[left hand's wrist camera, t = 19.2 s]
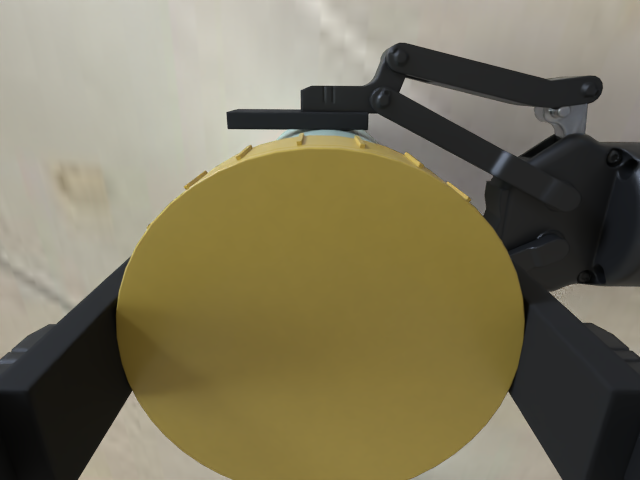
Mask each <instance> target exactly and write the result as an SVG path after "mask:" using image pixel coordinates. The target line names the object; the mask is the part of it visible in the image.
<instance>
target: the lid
mask: <svg viewBox="0 0 640 480" xmlns="http://www.w3.org/2000/svg"><path fill="white" fill-rule="evenodd" d="M184 188H185V189H186V191H185V192H183V193H182V194H181V195H180V196H178V197H177V198H176V199H175V200H173V201H172V202H171V203H170V204H169V205H168V206H167V207H166V208H165V209H164V210H163V211H162V212H161V213H160V214H159V215H158V217H157V218H156V219H155V220H154V221H153V222H152V223H150V224H149V225H148V226H147V230H146V232H145V233H144V235H143V236H142V238H141V239H140V241H139V242H138V244H137V245H136V247H135V249H134V251H133V254H132V256H131V258H130V260H129V262H128V264H127V266H126V269H125V272H124V276H123V279H122V282H121V286H120V289H119V295H118V303H117V311H116V332H117V342H118V347H119V352H120V357H121V362H122V365H123V368H124V371H125V374H126V377H127V380H128V383H129V385H130V386H131V388H132V390H133V392H134V394H135V396H136V398H137V400H138V402H139V403H140V405H141V406H142V408H143V409H144V411H145V412H146V414H147V415H148V416H149V418H150V419H151V421H152V422H153V423H154V424H155V425H156V426H157V427H158V428H159V430H160V431H161V432H162V433H163V434H164V435H165V436H166V437H167V438H168V439H169V440H170V441H172V442H173V443H174V444H175V445H176V446H177V447H178V448H179V449H181V450H182V451H183V452H184V453H186V454H187V455H189V456H190V457H192V458H193V459H195V460H196V461H197V462H199V463H200V464H202V465H204V466H206V467H208V468H209V469H211V470H213V471H215V472H217V473H219V474H220V475H223V476H225V477H228V478H230V479H232V480H408V479H411V478H414V477H416V476H418V475H420V474H422V473H424V472H426V471H428V470H430V469H432V468H434V467H436V466H437V465H439V464H440V463H442V462H443V461H445V460H446V459H448V458H449V457H451V456H452V455H454V454H455V453H456V452H458V451H459V450H460V449H461V448H462V447H464V446H465V445H466V444H467V443H468V442H470V441H471V440H472V439H473V438H474V437H475V436H476V435H477V434H478V433H479V432H480V430H481V429H482V428H483V427H484V426H485V425H486V424H487V423H488V421H489V420H490V419H491V417H492V416H493V415H494V413H495V412H496V411H497V409H498V408H499V407H500V405H501V403H502V401H503V399H504V398H505V396H506V394H507V392H508V390H509V389H510V387H511V384H512V382H513V379H514V376H515V374H516V371H517V368H518V364H519V359H520V354H521V350H522V345H523V339H524V328H525V315H524V304H523V295H522V291H521V287H520V283H519V279H518V275H517V272H516V270H515V267H514V265H513V263H512V261H511V258H510V256H509V254H508V251H507V249H506V248H505V246H504V244H503V242H502V240H501V239H500V238H499V237H498V235H497V233H496V232H495V230H494V229H493V227H492V226H491V225H490V224H489V223H488V222H487V220H486V219H485V218H484V217H483V216H482V215H481V213H480V212H479V211H478V210H477V209H476V208H475V207H474V206H473V205H472V204H471V203H469V202H470V201H471V199H470V198H469V197H468V196H467V195H465V194H464V193H463V192H461V191H460V190H459V189H457V188H456V187H455V186H453V185H452V184H451V183H449V182H447V183H445V182H444V181H443V180H441V179H440V178H439V177H438V176H436V175H435V174H434V173H433V172H431V171H430V170H429V169H427V168H425V167H424V165H423V164H422V163H421V162H419V161H418V160H417V159H415V158H414V157H413V156H412V155H410V154H409V153H407V152H406V153H405V155H403V154H401V153H399V152H397V151H394V150H392V149H390V148H388V147H385V146H382V145H379V144H375V143H372V142H368V141H365V140H362V139H361V138H360V137H359V136H357V135H355V137H354V138H348V137H342V136H326V135H308V136H304V133H300V135H299V137H292V138H284V139H280V140H276V141H273V142H269V143H265V144H261V145H258V146H256V147H254V148H252V146H251V145H249V146H247V147H246V148H245V149H244V150H243V151H241V152H240V153H239V154H237V155H235V156H233V157H232V158H230V159H228V160H227V161H225V162H223V163H221V164H220V165H218V166H216V167H215V168H214V169H212V170H211V171H210V172H209V173H207V171H204V172H203V173H201V174H200V175H199V176H197V177H196V178H195V179H193V180H192V181H191V182H189V183H188V184H187V185H185V186H184Z"/></svg>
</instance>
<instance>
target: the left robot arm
mask: <svg viewBox="0 0 640 480" xmlns="http://www.w3.org/2000/svg"><path fill="white" fill-rule="evenodd" d="M130 258H131V257H130ZM130 258H129V259H127V260H126V261H125V262H124V263H123V264H122V265H121V266H120V267H119V268H118V269H116V270H115V271H114V272H113V273H112V274H111V275H110V276H109V277H108V278H107V279H105V280H104V281H103V282H102V283H101V284H100V285H99V286H98V287H97V288H96V289H94V290H93V291H92V292H91V293H90V294H89V295H88V296H87V297H86V298H85V299H83V300H82V301H81V302H80V303H79V304H78V305H77V306H76V307H75V308H74V309H72V310H71V311H70V312H69V313H68V314H67V315H66V316H65V317H64V318H63V319H61V320H60V321H59V322H58V323H57V324H49V325H47V326H45V327H43V328H41V329H40V330H38V331H36V332H34V333H32V334H30V335H28V336H27V337H26V338H25V339H23V340H22V341H21V342H20V343H19V344H18V345H16V346H15V347H14V348H13V349H12V352H8V353H7V354H6V355H5V356H4V357H3V358H1V359H0V480H78V478H79V477H80V475H81V474H82V472H83V470H84V469H85V467H86V465H87V464H88V462H89V460H90V459H91V457H92V456H93V454H94V452H95V451H96V449H97V447H98V446H99V444H100V443H101V441H102V439H103V438H104V436H105V434H106V433H107V431H108V429H109V428H110V426H111V425H112V423H113V421H114V420H115V418H116V416H117V415H118V413H119V412H120V410H121V408H122V407H123V405H124V403H125V402H126V400H127V398H128V397H129V395H130V394H131V392H132V388H131V386H130V385H129V383H128V380H127V377H126V374H125V371H124V368H123V365H122V362H121V357H120V352H119V347H118V342H117V332H116V311H117V303H118V295H119V289H120V286H121V282H122V279H123V276H124V272H125V269H126V266H127V264H128V262H129V260H130ZM510 258H511V257H510ZM511 261H512V263H513V265H514V267H515V270H516V272H517V275H518V279H519V283H520V287H521V291H522V295H523V304H524V315H525V328H524V339H523V345H522V350H521V354H520V359H519V364H518V368H517V371H516V374H515V376H514V379H513V382H512V384H511V387H510V389H509V390H508V392H509V393H510V395H511V396H512V398H513V400H514V401H515V403H516V405H517V406H518V408H519V409H520V411H521V413H522V414H523V416H524V418H525V419H526V421H527V423H528V424H529V426H530V427H531V429H532V431H533V432H534V434H535V436H536V437H537V439H538V440H539V442H540V444H541V445H542V447H543V449H544V450H545V452H546V454H547V455H548V457H549V458H550V460H551V462H552V463H553V465H554V467H555V468H556V470H557V471H558V473H559V475H560V476H561V478H562V480H640V357H639V356H638V355H637V354H635V353H634V352H633V351H629V348H628V347H627V346H626V345H625V344H624V343H623V342H621V341H620V340H619V339H618V338H617V337H615V336H614V335H613V334H611V333H609V332H608V331H606V330H604V329H602V328H600V327H598V326H596V325H594V324H593V323H582V322H581V321H580V320H579V319H578V318H577V317H576V316H574V315H573V314H572V313H571V312H570V311H569V310H568V309H567V308H566V307H565V306H563V305H562V304H561V303H560V302H559V301H558V300H557V299H556V298H555V297H554V296H552V295H551V294H550V293H549V292H548V291H547V290H546V289H545V288H544V287H543V286H541V285H540V284H539V283H538V282H537V281H536V280H535V279H534V278H533V277H532V276H530V275H529V274H528V273H527V272H526V271H525V270H524V269H523V268H522V267H521V266H519V265H518V264H517V263H516V262H515V261H514V260H513V259H512V258H511Z"/></svg>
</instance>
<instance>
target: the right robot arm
mask: <svg viewBox="0 0 640 480" xmlns="http://www.w3.org/2000/svg"><path fill="white" fill-rule="evenodd" d="M405 78H409V79H413V80H417V81H421V82H425V83H429V84H433V85H437V86H441V87H445V88H449V89H453V90H457V91H461V92H465V93H469V94H473V95H477V96H481V97H485V98H489V99H493V100H497V101H501V102H505V103H509V104H514V105H521V106H532V107H534V112H535V116H536V118H537V119H538V120H539V121H541V122H548V123H550V124H551V125H552V126H553V127H554V130H555V134H553V135H552V136H550V137H548V138H547V139H545V140H544V141H542V142H541V143H539V144H537V145H536V146H534V147H533V148H531V149H530V150H528V151H527V152H525V153H523V154H522V155H520V156H519V157H516V156H514V155H512V154H510V153H508V152H506V151H504V150H502V149H500V148H498V147H497V146H495V145H493V144H491V143H489V142H488V141H486V140H484V139H482V138H480V137H478V136H477V135H475V134H473V133H471V132H469V131H468V130H466V129H464V128H462V127H460V126H458V125H457V124H455V123H453V122H451V121H449V120H447V119H446V118H444V117H442V116H440V115H438V114H437V113H435V112H433V111H431V110H429V109H427V108H426V107H424V106H422V105H420V104H418V103H417V102H415V101H413V100H411V99H409V98H407V97H406V96H404V95H402V94H400V93H399V91H400V89H401V87H402V84H403V82H404V79H405ZM602 89H603V85H602V81H601V80H600V78H598V77H596V76H572V77H557V78H549V79H544V78H540V77H536V76H532V75H528V74H524V73H520V72H516V71H512V70H509V69H505V68H501V67H497V66H493V65H489V64H485V63H481V62H477V61H473V60H469V59H466V58H462V57H458V56H454V55H450V54H446V53H442V52H438V51H434V50H430V49H427V48H423V47H419V46H415V45H411V44H407V43H398V44H395V45H393V46H392V47H390V48H388V49H387V50H386V51H385V52H384V53H383V54H382V56H381V61H380V64H379V66H378V69H377V71H376V74H375V76H374V78H373V79H372V81H371V82H370V83H368V84H366V85H364V86H310V87H308V88H305V89H303V90H301V110H280V109H237V110H233V111H229V112H227V125H228V129H290V130H368V114H369V113H378V114H380V115H382V116H383V117H385V118H387V119H389V120H391V121H393V122H395V123H396V124H398V125H400V126H402V127H404V128H406V129H408V130H409V131H411V132H413V133H415V134H417V135H419V136H421V137H423V138H424V139H426V140H428V141H430V142H432V143H434V144H436V145H437V146H439V147H441V148H443V149H445V150H447V151H449V152H451V153H452V154H454V155H456V156H458V157H460V158H462V159H464V160H465V161H467V162H469V163H471V164H473V165H475V166H477V167H478V168H480V169H482V170H484V171H486V172H488V173H490V174H491V175H493V178H492V180H491V181H487V183H486V189H485V201H486V211H485V213H484V216H483V217H484V218H485V219H486V220H487V222H488V223H489V224H490V225H491V226H492V227H493V229H494V230H495V232H496V233H497V235H498V237H499V238H500V239H501V240H502V242H503V244H504V246H505V248H506V249H507V251H508V254H509V256H510V257H511V258H512V259H513V260H514V261H515V262H516V263H517V264H518V265H519V266H521V267H522V268H523V269H524V270H525V271H526V272H527V273H528V274H529V275H530V276H532V277H533V278H534V279H535V280H536V281H537V282H538V283H539V284H540V285H541V286H543V287H544V288H545V289H546V290H547V291H548V292H550V291H555V290H558V289H560V288H562V287H565V286H567V285H571V284H588V285H596V286H639V287H640V142H598V141H596V140H595V139H593V138H592V137H590V136H589V135H586V134H585V129H586V118H587V108H588V104H589V103H592V102H594V101H595V100H597V99H598V98H599V96H600V95H601V93H602Z"/></svg>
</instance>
